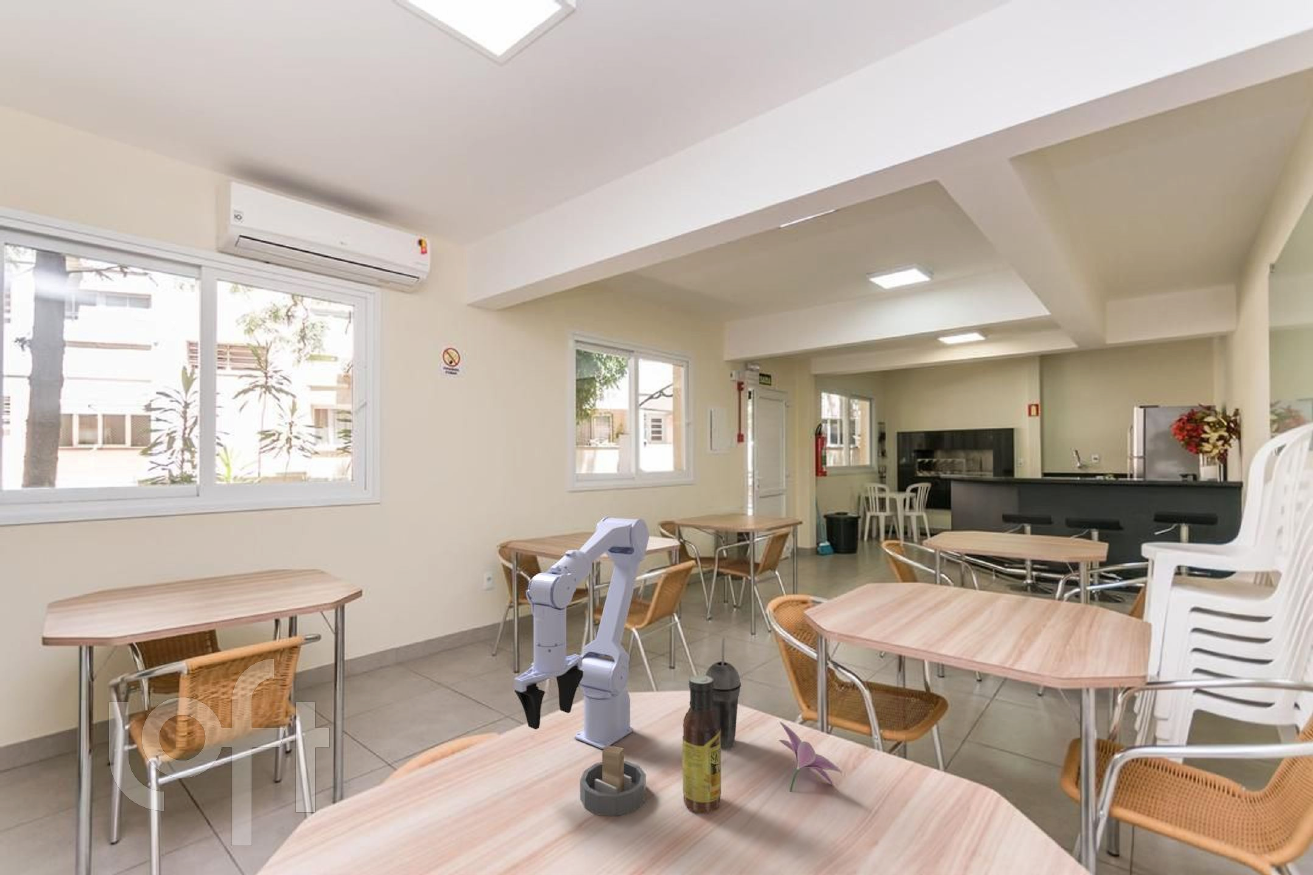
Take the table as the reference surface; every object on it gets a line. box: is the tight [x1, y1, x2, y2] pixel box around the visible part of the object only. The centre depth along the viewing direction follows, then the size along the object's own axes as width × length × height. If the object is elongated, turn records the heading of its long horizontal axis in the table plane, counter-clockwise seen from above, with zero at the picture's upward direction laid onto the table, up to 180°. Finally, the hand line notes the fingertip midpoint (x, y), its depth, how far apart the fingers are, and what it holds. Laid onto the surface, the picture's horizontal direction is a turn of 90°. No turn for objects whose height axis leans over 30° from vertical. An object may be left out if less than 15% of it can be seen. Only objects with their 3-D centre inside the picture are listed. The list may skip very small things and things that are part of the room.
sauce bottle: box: [682, 674, 722, 814], centre depth 95 cm, size 7×6×20 cm
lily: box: [778, 721, 843, 792], centre depth 100 cm, size 12×12×10 cm
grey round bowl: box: [579, 760, 647, 817], centre depth 97 cm, size 11×11×3 cm
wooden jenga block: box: [601, 745, 625, 793], centre depth 97 cm, size 2×3×7 cm, turn 70°
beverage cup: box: [705, 637, 742, 750], centre depth 114 cm, size 7×7×20 cm
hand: (549, 718), depth 103 cm, fingers open, 7 cm apart
